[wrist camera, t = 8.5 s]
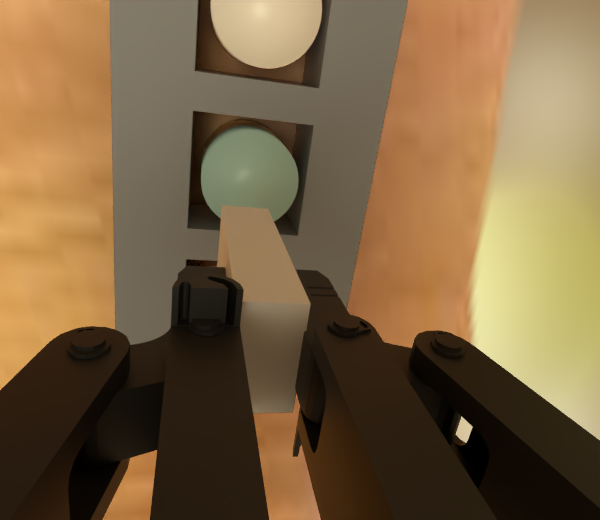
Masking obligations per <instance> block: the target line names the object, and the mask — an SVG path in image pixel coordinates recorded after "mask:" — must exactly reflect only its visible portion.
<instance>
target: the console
mask: <svg viewBox="0 0 600 520" xmlns="http://www.w3.org/2000/svg"><path fill="white" fill-rule="evenodd" d="M407 2H408V0H322V16H321V22H320V27H319V30H318V33H317V35H316V37H315V39H314V41H313V43H312V44H311V46H310V47H309V49H308V50H307V52H306V60H305V67H304V75H303V83H297V82H290V81H283V80H276V79H269V78H262V77H255V76H248V75H241V74H233V73H226V72H219V71H212V70H205V69H198V68H196V67H197V46H198V26H199V5H200V0H110V45H111V103H112V161H113V219H114V277H115V330H118V331H120V332H121V333H123V334H124V335H126V336H127V338H128V340H129V342H130V345H133V344H139V343H143V342H148V341H151V340H154V339H156V338H159V337H161V336H162V335H164V334H165V333H167V332H168V330H169V329H170V328H171V307H172V286H173V285H174V283H175V281H177V278H178V273H179V272H180V271H181V270H183V269H184V268H185V267H186V266H187V259H191V260H210V261H218V249H219V236H220V223H221V218H219V217H218V216H217V215H216V214H215V213H214V212H213V211H212V210H211V209H210V207H209V206H208V205H197V204H190V192H191V172H192V151H193V130H194V111H199V112H207V113H216V114H224V115H232V116H240V117H249V118H257V119H265V120H273V121H282V122H290V123H297V129H296V136H295V144H294V152H293V159H294V161H295V163H296V166H297V170H298V179H299V181H298V189H297V193H296V196H295V199H294V201H293V203H292V205H291V206H290V208H289V209H288V210H287V211H286V212H285V214H283V215H282V216H281V217H280V218H279V219H277V220H276V221H274V223H275V225H276V228H277V230H278V232H279V234H280V236H281V239H282V241H283V243H284V245H285V248H286V250H287V252H288V254H289V257H290V259H291V261H292V263H293V266H294V268H295V269H299V270H317V271H319V272H320V273H321V274H323V275H324V276H326V277H327V278H328V279H329V280H330V282H331V284H332V285H333V287H334V289H335V290H336V292H337V294H338V297H340V299H341V301H342V302H343V304H344V306H345V308H346V309H347V304H348V299H349V294H350V289H351V284H352V279H353V274H354V269H355V264H356V259H357V254H358V249H359V244H360V239H361V234H362V228H363V223H364V218H365V213H366V208H367V203H368V198H369V193H370V188H371V183H372V178H373V173H374V168H375V163H376V158H377V153H378V148H379V143H380V138H381V133H382V128H383V123H384V118H385V113H386V108H387V103H388V98H389V93H390V88H391V83H392V78H393V72H394V67H395V62H396V57H397V52H398V47H399V42H400V37H401V32H402V27H403V22H404V17H405V12H406V7H407Z"/></svg>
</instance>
